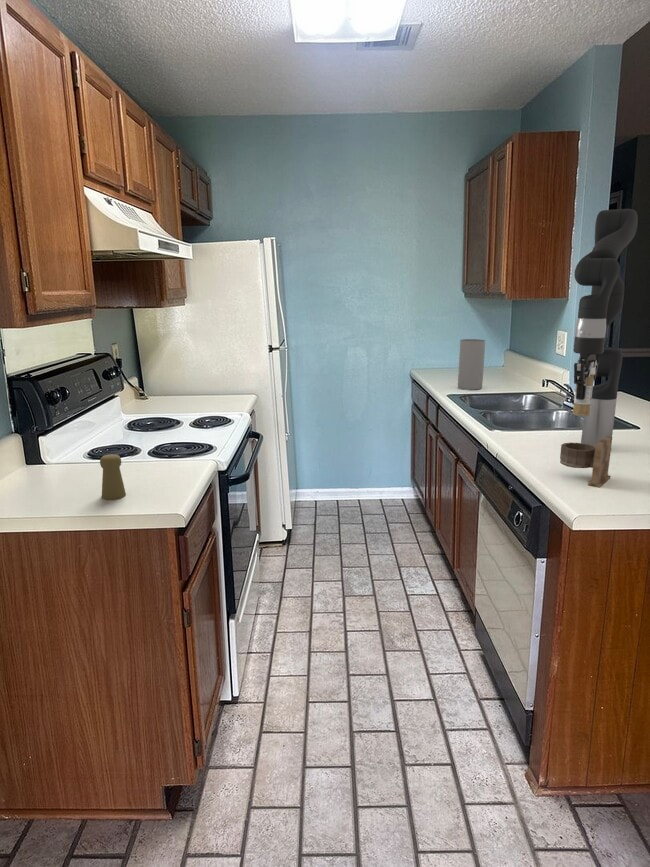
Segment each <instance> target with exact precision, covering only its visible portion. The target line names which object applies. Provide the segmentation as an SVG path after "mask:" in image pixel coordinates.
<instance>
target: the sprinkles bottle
mask: <svg viewBox="0 0 650 867" xmlns="http://www.w3.org/2000/svg"><path fill="white" fill-rule="evenodd" d="M587 373H588V371H587V372H585V374H587ZM594 374H595V367H593V368H591V375H590V378H588V380H587V385H586V393H585V399H583V400H580V399H576V391H577V385H576V384H575V389H574V398H573V409H572V414H573V415H575V416H580V417H584V416H589V415H590V405H591V399H592V390H593V386H594V382H593V378H594ZM580 380H582V377H580Z"/></svg>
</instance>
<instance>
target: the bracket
mask: <svg viewBox="0 0 650 867" xmlns="http://www.w3.org/2000/svg"><path fill="white" fill-rule="evenodd" d="M612 442H613V436H612V437H608V436H606V437H605V438H603V439H602V440H600V441H599V442H597V443H596V446H595V447H594V446H591V445H588V444H583V443H581V442H563V443H562V444H561V445H560V446H561V447H560V456H559V459H560V462H559V463H560V464H562V465H563V466H565V467H569V468H574V469H590V468H591V469H592V474H591V480H590V481H588V483H587V485H588V487H589V486H590V487H594V488H601V487H602V486H604V484H606V483H607V482H608V481H609V480H611V475H609V467H610V459H611V451H612V444H613V443H612Z"/></svg>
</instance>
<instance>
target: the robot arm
mask: <svg viewBox="0 0 650 867" xmlns="http://www.w3.org/2000/svg"><path fill="white" fill-rule="evenodd" d="M638 222H639V220H638V213H637V211H636V210H635V209H633V208H632V209H631V208H620V209H618V208H617V209H605V210H600V211H599V212H598V214H597V215H596V220H595V226H594V247H592V249H591V251H590V252H589V253H587V254H585V255H584V256H583V257H582V258H581V259H580V260H579V261H578V263H577V265H576V266H575V270H574V280H575V282H576V283H577V284H578V285H580V286H582V287H583V286H584V287H591V290H590V293H591V294H587V295H584V296H582V297H580V299H579V302H578V312H577V318H576V325H575V331H574V342H573V350H572V351H573V353H575V354H578V355H579V357H578V359H577V362H575V363H574V364H573V384H575V386H576V385H577V391H576V399H580V400H583V399H585V393H586V385H587V380H588V378H590V375H591V368H593V367H595V374H594V378H593V383H594V382H595V381H596V379H597V377H602V378H607V380H606V381H605V382H603V383H600V384H597V385H593V390H592V399H591V405H590V415H589V416H583V422H582V431H581V437H580V439H581V440H580V443H583V444H588V445H591V446H594V447H595V446H596V443H597V442H599V441H600V440H602V439H603V438H605V437H606V436H608V437H612V438H613V434H614V425H615V424H614V423H615V416H616V415H615V414H616V406H617V398H618V390H619V383H620V382H619V381H620V376H621V370H622V365H623V356H624V355H623V350H621V349H620V348H612V347H611V348H609V347H608V348H606V347H605V341H606V333H607V329H608V327H609V326H610V325H611V324H612V323H613V322H614V320H615V319H616V318H617V317H618V316H619V314H620V313H621V311H622V309H623V305H624V298H625V297H624V296H625V284H624V281H623V279H622V277H621V276H620V268H621V267H620V263H619V261H618V260H619V257H620V255H621V253H622V251H623V250H625V248H626V247H627V246H629V244H630V243H631V242H632V240H633V239H634V237H635V235H636V233H637V230H638V229H637V228H638ZM587 371H588V373H587V374H585V372H587ZM580 377H582V380H580Z"/></svg>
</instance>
